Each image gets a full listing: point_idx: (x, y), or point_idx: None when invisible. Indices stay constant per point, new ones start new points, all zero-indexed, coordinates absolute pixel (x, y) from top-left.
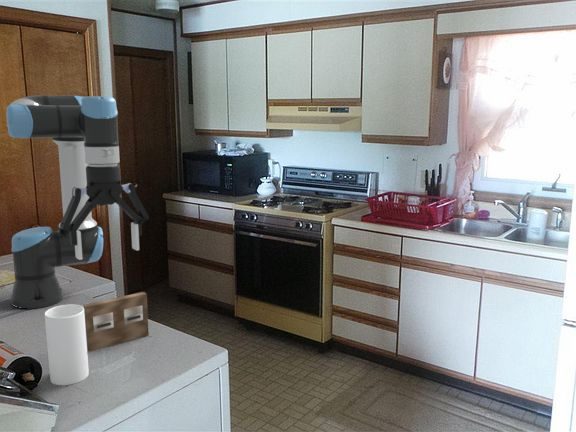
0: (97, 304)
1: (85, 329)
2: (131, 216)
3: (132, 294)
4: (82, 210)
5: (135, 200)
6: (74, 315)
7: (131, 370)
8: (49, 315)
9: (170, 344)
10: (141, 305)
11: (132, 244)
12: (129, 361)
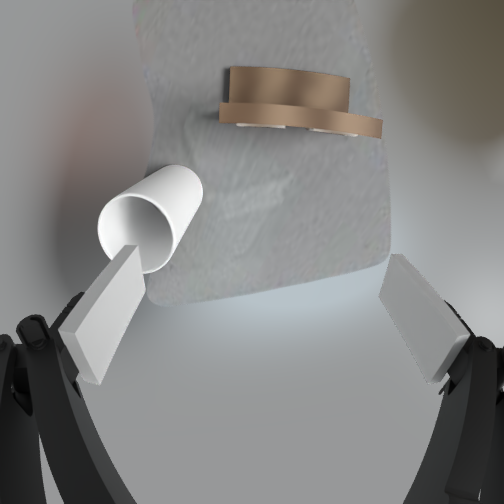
0: (249, 123)
1: (184, 231)
2: (440, 417)
3: (353, 116)
4: (71, 485)
5: (485, 492)
6: (148, 272)
7: (258, 232)
8: (112, 204)
9: (352, 191)
10: (356, 134)
11: (397, 270)
12: (269, 203)
